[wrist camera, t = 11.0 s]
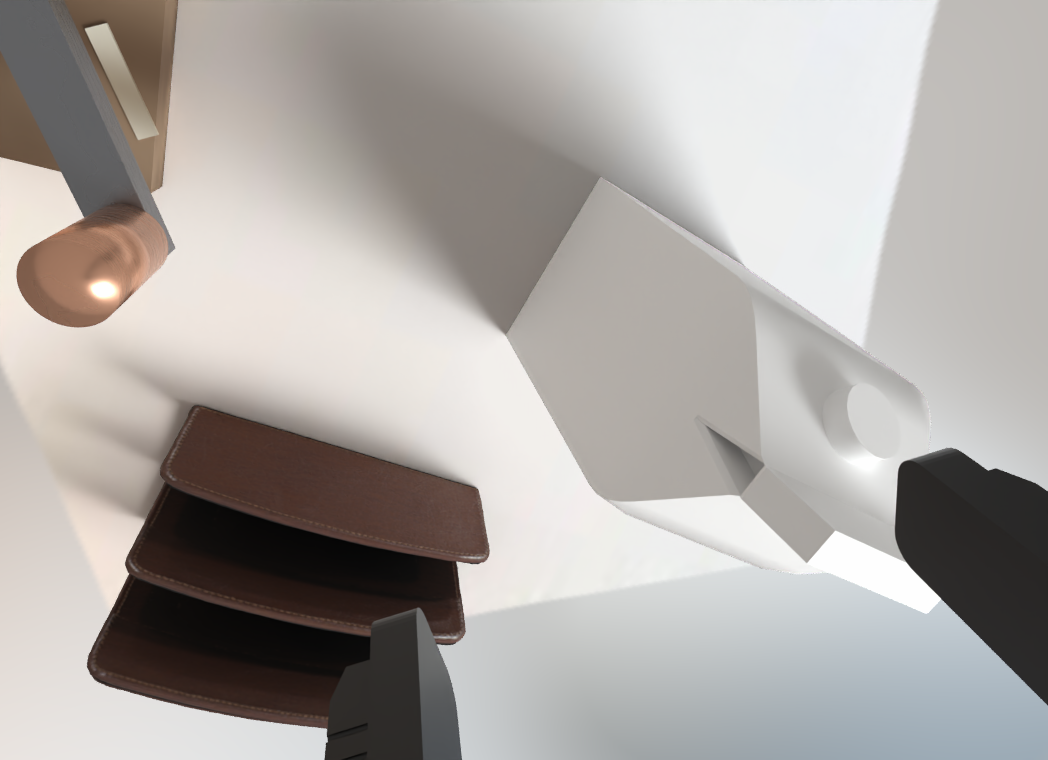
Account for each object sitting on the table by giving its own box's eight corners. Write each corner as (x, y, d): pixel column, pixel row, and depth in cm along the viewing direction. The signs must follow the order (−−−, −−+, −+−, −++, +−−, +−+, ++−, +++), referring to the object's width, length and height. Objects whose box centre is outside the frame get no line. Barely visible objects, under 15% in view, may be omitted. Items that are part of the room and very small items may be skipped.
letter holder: (427, 586, 52) (439, 756, 40) (154, 522, 45) (65, 701, 33) (480, 486, 49) (511, 636, 36) (194, 400, 42) (113, 548, 30)
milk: (505, 335, 44) (634, 653, 21) (600, 176, 40) (881, 347, 17) (648, 404, 48) (885, 731, 25) (745, 266, 44) (1123, 498, 22)
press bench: (-16, -189, 29) (-127, -254, 22) (191, -113, 31) (142, -153, 25) (-11, 143, 34) (-101, 165, 28) (165, 187, 36) (120, 216, 30)
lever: (-118, -176, 23) (-322, -265, 16) (1, -197, 23) (-153, -294, 17) (111, 276, 31) (35, 339, 24) (198, 256, 31) (146, 312, 24)
